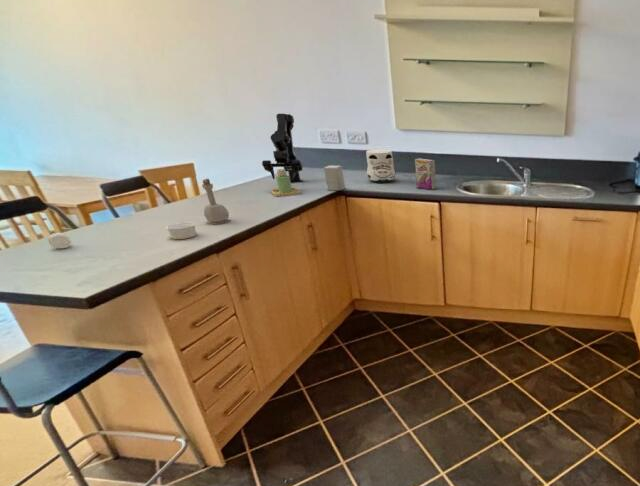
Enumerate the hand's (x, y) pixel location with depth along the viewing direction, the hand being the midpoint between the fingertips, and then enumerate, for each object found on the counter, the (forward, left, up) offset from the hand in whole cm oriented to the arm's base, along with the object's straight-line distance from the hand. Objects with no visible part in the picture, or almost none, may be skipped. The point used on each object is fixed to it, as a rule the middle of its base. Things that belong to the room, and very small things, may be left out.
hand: (283, 178), depth 224 cm
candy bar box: (+29, +71, -8) cm, 77 cm away
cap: (0, 0, +2) cm, 2 cm away
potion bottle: (+42, -36, -8) cm, 56 cm away
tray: (+1, 0, -8) cm, 8 cm away
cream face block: (-3, +57, -8) cm, 57 cm away
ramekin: (+57, -49, -8) cm, 76 cm away
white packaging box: (+5, +26, -8) cm, 27 cm away
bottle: (0, 0, -7) cm, 7 cm away
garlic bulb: (+48, -84, -8) cm, 97 cm away
